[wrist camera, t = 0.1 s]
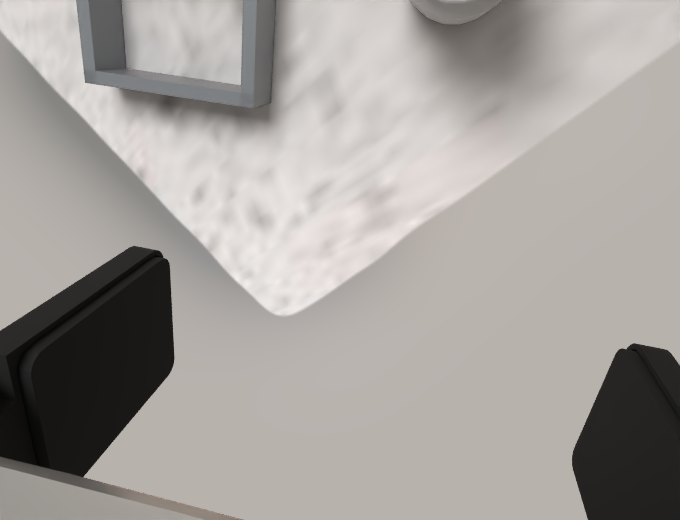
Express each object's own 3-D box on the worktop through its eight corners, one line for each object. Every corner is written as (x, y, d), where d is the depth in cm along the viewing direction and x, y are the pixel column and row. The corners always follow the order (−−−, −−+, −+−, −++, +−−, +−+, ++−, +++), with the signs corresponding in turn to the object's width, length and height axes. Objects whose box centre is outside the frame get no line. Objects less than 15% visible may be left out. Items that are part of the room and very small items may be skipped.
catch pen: (102, -89, 36) (65, -103, 33) (279, -71, 34) (259, -84, 31) (116, 79, 41) (85, 82, 38) (270, 102, 40) (253, 108, 36)
